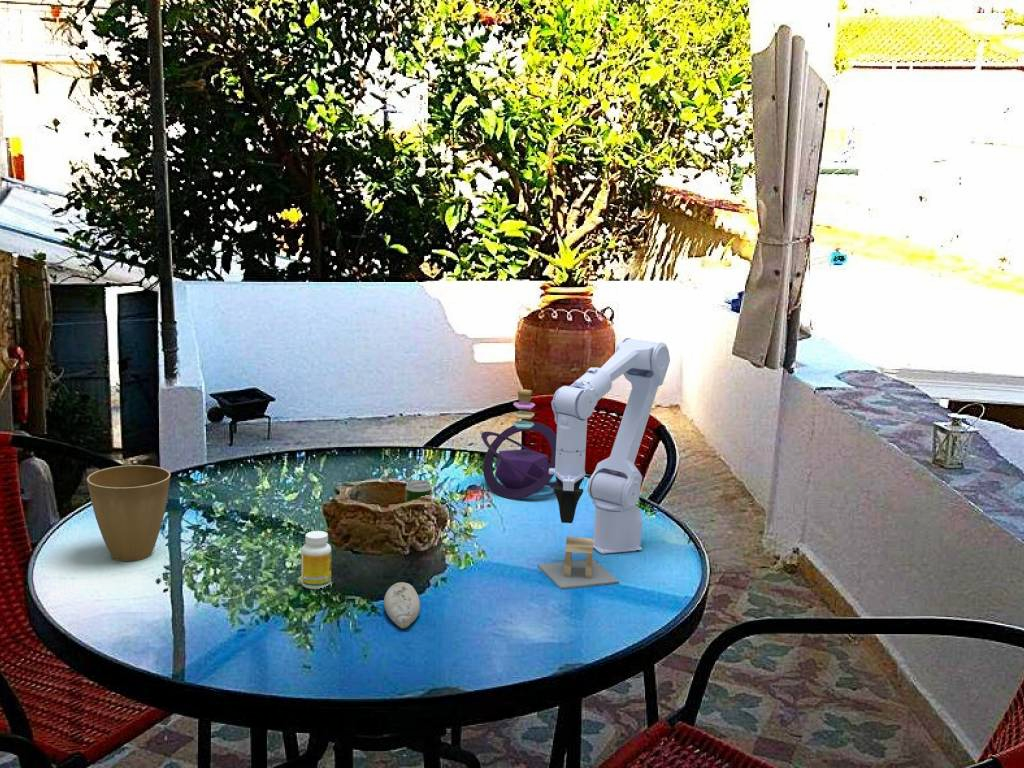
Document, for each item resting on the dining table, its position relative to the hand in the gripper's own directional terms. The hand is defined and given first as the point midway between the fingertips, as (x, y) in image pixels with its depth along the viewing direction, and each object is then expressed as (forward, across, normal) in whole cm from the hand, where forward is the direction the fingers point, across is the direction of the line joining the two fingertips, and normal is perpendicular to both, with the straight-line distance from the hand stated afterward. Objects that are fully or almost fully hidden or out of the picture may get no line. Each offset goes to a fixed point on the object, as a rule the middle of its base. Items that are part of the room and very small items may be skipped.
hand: (567, 516), depth 194 cm
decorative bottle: (+11, -52, -13) cm, 54 cm away
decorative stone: (+11, +27, -27) cm, 40 cm away
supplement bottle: (+10, +18, -45) cm, 49 cm away
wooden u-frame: (+10, +4, +3) cm, 11 cm away
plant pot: (+10, +10, -84) cm, 85 cm away
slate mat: (+10, +4, +3) cm, 11 cm away
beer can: (+11, -10, -31) cm, 35 cm away
